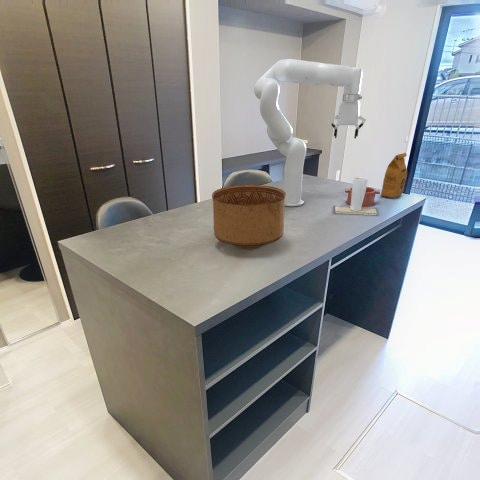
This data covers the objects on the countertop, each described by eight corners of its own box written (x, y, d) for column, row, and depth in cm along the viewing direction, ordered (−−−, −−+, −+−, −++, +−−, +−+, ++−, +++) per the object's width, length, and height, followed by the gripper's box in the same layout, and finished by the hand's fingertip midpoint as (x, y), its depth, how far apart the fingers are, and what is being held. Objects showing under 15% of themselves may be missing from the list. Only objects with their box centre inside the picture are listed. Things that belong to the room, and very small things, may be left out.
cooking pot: (343, 205, 185) (345, 192, 181) (342, 198, 196) (344, 185, 192) (378, 207, 182) (381, 193, 178) (376, 200, 193) (378, 187, 189)
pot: (217, 232, 155) (215, 185, 144) (280, 232, 154) (283, 184, 143) (211, 258, 132) (208, 204, 121) (285, 258, 131) (288, 203, 120)
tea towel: (335, 213, 175) (335, 212, 175) (335, 206, 185) (335, 205, 185) (377, 215, 171) (377, 214, 171) (375, 208, 181) (375, 207, 181)
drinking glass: (346, 208, 180) (351, 177, 172) (359, 207, 181) (364, 176, 172) (351, 212, 175) (356, 180, 166) (364, 211, 175) (370, 180, 167)
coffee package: (405, 195, 200) (415, 153, 187) (393, 200, 193) (403, 156, 181) (389, 192, 206) (398, 151, 193) (377, 196, 199) (386, 154, 187)
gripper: (368, 98, 172) (362, 137, 181) (332, 98, 175) (328, 137, 185) (369, 98, 166) (363, 139, 175) (332, 99, 169) (327, 138, 179)
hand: (345, 138), depth 180 cm, fingers open, 9 cm apart
